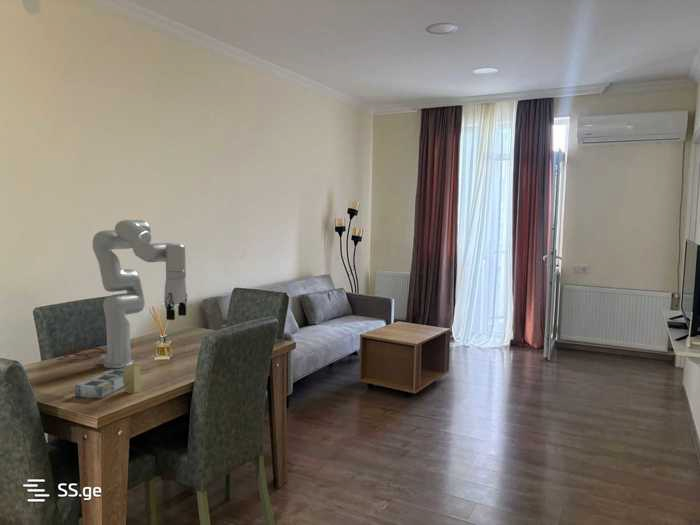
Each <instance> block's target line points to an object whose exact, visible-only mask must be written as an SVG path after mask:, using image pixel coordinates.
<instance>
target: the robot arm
mask: <svg viewBox="0 0 700 525" xmlns="http://www.w3.org/2000/svg"><path fill="white" fill-rule="evenodd" d="M151 231H152V230H151V227H150V224H149V223H148V222H147V221H145V220H142V219H125V220H121V221H119V222H117V223H116V224H115V226H114V229H107V230H100V231H98V232H96V233H95V234H94V236H93V239H92V250H93V252H94V255H95V257H96V259H97V262H98V266H99V272H100V278H101V282H102V286H103V289H104V290H105V291H106V292H109V293H113V292H114V293H115V292H122V291H123V292H124V291H126V292H125V293H117V294H112V295H108V296H107V297H106V298H105V299H104V301H103V302H102V303H103V304H102V306H103V311H104V316H105V317H104V318H105V325H106V326H105V327H106V353H107V354H103V353H102V354H101V355H100V357H99V359H100V361H105V362H103V367H104V368H107V369H123V368H124V366H127V365H129V364H135V359H132V358H131V357H132V356H131V353H132V352H131V326H130V322H129V321H128V319H127V317H126V315H131V314H132V315H133V314H138V313H140V312H142V311H143V310H144V308H145V305H146V304H145V297H144V292H143V287H142V286H143V285H142V282H141V278H140V275H139V274H138V272H137V271H136V270H134V269H129V268H128V269H127V268H126V269H123V268H122V266H121V262H120V258H119V256H117V254H116V253H115V252H113V251H112V250H126V249H127V250H128V249H132V251H133V253H134V255H135V256H136V257H137V258H139V259H140V260H142V261H144V262H146V263H164V262H165V283H164V300H163V301H164V307H165V310H166V321H175V319H176V314H175V313H176V310H175V307H176V305H178V306H177V308H178V312H177V313H178V314H177V315H178V316H182V317H184V316H187V301H188V293H187V284H186V279H187V277H186V275H187V274H186V271H187V270H186V269H187V268H186V266H187V265H186V246H185V245H184V244H182V243H172V242H159V243H156V242H155V243H152V242H151V241H152V235H151Z"/></svg>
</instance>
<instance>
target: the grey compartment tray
mask: <svg viewBox="0 0 700 525" xmlns="http://www.w3.org/2000/svg"><path fill="white" fill-rule="evenodd" d="M121 388H122V389H123V388H124V389H125V377H124V369H123V368H110V369H109V370H107V371H105V372H103V373H100V374H99V375H95V376H93V377H91V378H89V379H86V380H85V381H82V382H79V383H78V384H75V385H74V397H77V398H76V399H86V398H89V400H98V399H100V400H102V399H104V398H105V396H106V397H108V396H110V395H112V394H114V393H116V392H118V391H120V390H122V389H121ZM119 389H120V390H119ZM117 390H118V391H117ZM115 391H116V392H115ZM113 392H114V393H113ZM111 393H112V394H111ZM109 394H110V395H109ZM107 395H108V396H107ZM103 397H104V398H103ZM101 398H102V399H101Z"/></svg>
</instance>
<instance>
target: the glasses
mask: <svg viewBox="0 0 700 525" xmlns="http://www.w3.org/2000/svg"><path fill="white" fill-rule="evenodd" d="M78 346H79V348H78ZM77 348H78V350H77ZM82 348H85V349H90V350H99V351H101V353H106V351H105V350H103V349H102V348H100V347H91V346H87V345H82V344H81V343H77V344H76V345H75V347H74V346H73V347H72V348H71V347H67V348H66V349H65V351H64V357H65V356H67V354H68V355H73V356H78V357H79V356H86V357H87V358H88V359H89V358H91V357H90V356H89V355H88V354H86V353H79V352H80V351H81V349H82ZM68 350H69V351H68ZM73 350H74V352H72V351H73Z"/></svg>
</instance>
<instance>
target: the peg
mask: <svg viewBox="0 0 700 525" xmlns="http://www.w3.org/2000/svg"><path fill="white" fill-rule="evenodd" d="M123 368H124V369H123V370H124V377H125V387H124V393H125V392H128V393H127V394H136V393H138V392H139V390H140V391H141V390H142V389H141V386H142V385H141V382H142V381H141V364H140V363H134V364H129V365H127V366H124V367H123ZM137 391H138V392H137ZM135 392H136V393H135Z"/></svg>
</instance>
